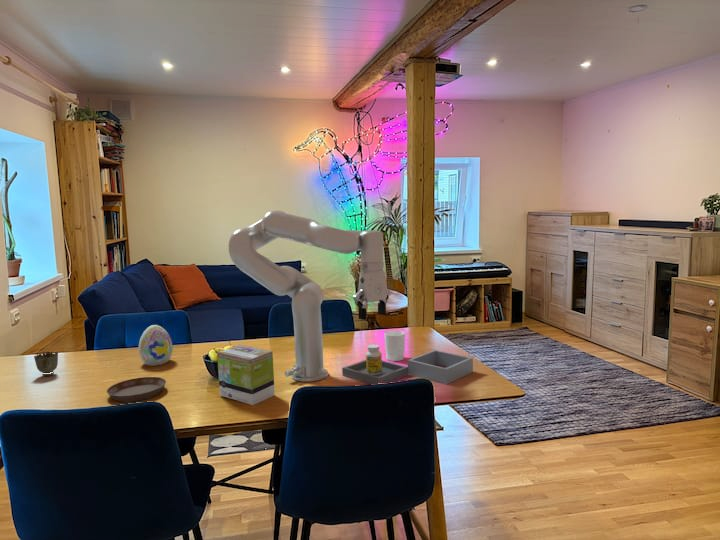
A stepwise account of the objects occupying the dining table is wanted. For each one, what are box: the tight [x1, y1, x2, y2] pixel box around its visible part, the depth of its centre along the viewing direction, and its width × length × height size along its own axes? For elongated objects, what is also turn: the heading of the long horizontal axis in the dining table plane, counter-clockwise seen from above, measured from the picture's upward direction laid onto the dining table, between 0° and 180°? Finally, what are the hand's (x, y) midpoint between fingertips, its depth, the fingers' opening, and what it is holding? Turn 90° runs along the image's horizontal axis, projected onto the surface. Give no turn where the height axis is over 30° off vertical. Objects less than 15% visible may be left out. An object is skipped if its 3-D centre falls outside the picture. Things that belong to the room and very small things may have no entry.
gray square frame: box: [407, 349, 474, 385], centre depth 176 cm, size 16×16×5 cm
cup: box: [33, 351, 59, 377], centre depth 186 cm, size 8×7×8 cm
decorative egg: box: [138, 324, 174, 367], centre depth 197 cm, size 12×12×15 cm
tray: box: [341, 359, 409, 385], centre depth 175 cm, size 15×17×3 cm
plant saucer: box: [106, 376, 167, 403], centre depth 165 cm, size 18×18×3 cm
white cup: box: [383, 330, 406, 362], centre depth 193 cm, size 8×8×10 cm
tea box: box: [216, 344, 275, 406], centre depth 159 cm, size 15×10×15 cm, turn 56°
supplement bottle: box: [365, 344, 383, 375], centre depth 175 cm, size 5×5×10 cm
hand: (372, 316), depth 173 cm, fingers open, 9 cm apart
